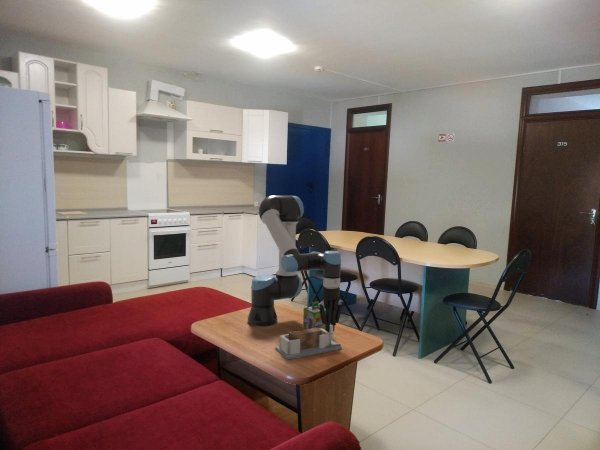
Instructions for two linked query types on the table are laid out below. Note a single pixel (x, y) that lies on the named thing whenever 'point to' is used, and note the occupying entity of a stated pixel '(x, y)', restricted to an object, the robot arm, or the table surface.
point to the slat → (306, 337)
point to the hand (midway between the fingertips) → (329, 338)
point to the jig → (292, 348)
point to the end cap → (324, 339)
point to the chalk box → (313, 317)
